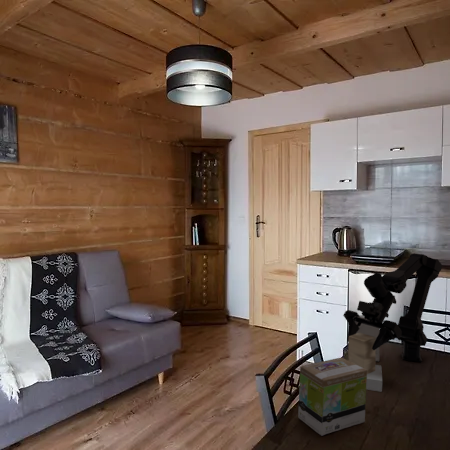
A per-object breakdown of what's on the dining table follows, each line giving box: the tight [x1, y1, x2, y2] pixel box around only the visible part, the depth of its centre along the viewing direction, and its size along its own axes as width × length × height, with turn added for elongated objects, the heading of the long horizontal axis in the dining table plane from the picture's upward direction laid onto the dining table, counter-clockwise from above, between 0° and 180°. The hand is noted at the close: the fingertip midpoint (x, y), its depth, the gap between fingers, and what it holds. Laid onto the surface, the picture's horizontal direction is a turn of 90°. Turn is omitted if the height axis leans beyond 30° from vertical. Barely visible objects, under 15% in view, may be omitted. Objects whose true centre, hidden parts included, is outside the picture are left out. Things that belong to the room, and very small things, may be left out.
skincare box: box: [356, 314, 380, 362], centre depth 149 cm, size 8×7×16 cm
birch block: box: [347, 333, 376, 374], centre depth 131 cm, size 6×6×11 cm
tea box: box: [297, 356, 367, 437], centre depth 107 cm, size 15×10×15 cm
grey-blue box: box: [366, 364, 383, 393], centre depth 131 cm, size 12×12×4 cm
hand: (360, 345), depth 129 cm, fingers open, 9 cm apart
